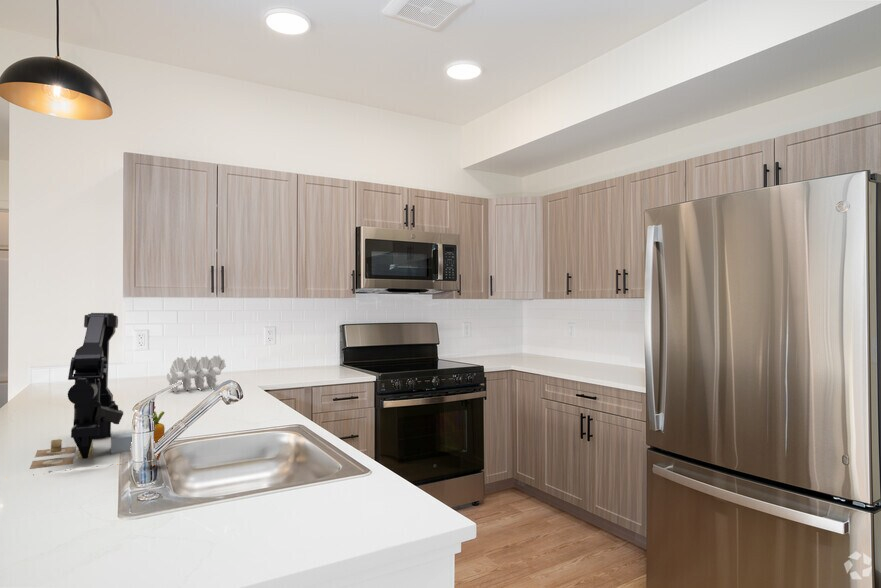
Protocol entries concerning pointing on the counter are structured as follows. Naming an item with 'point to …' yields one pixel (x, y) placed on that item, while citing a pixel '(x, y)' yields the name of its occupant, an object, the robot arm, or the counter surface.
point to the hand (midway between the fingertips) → (85, 456)
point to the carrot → (158, 429)
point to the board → (43, 452)
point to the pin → (89, 452)
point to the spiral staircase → (195, 371)
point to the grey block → (121, 442)
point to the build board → (52, 462)
